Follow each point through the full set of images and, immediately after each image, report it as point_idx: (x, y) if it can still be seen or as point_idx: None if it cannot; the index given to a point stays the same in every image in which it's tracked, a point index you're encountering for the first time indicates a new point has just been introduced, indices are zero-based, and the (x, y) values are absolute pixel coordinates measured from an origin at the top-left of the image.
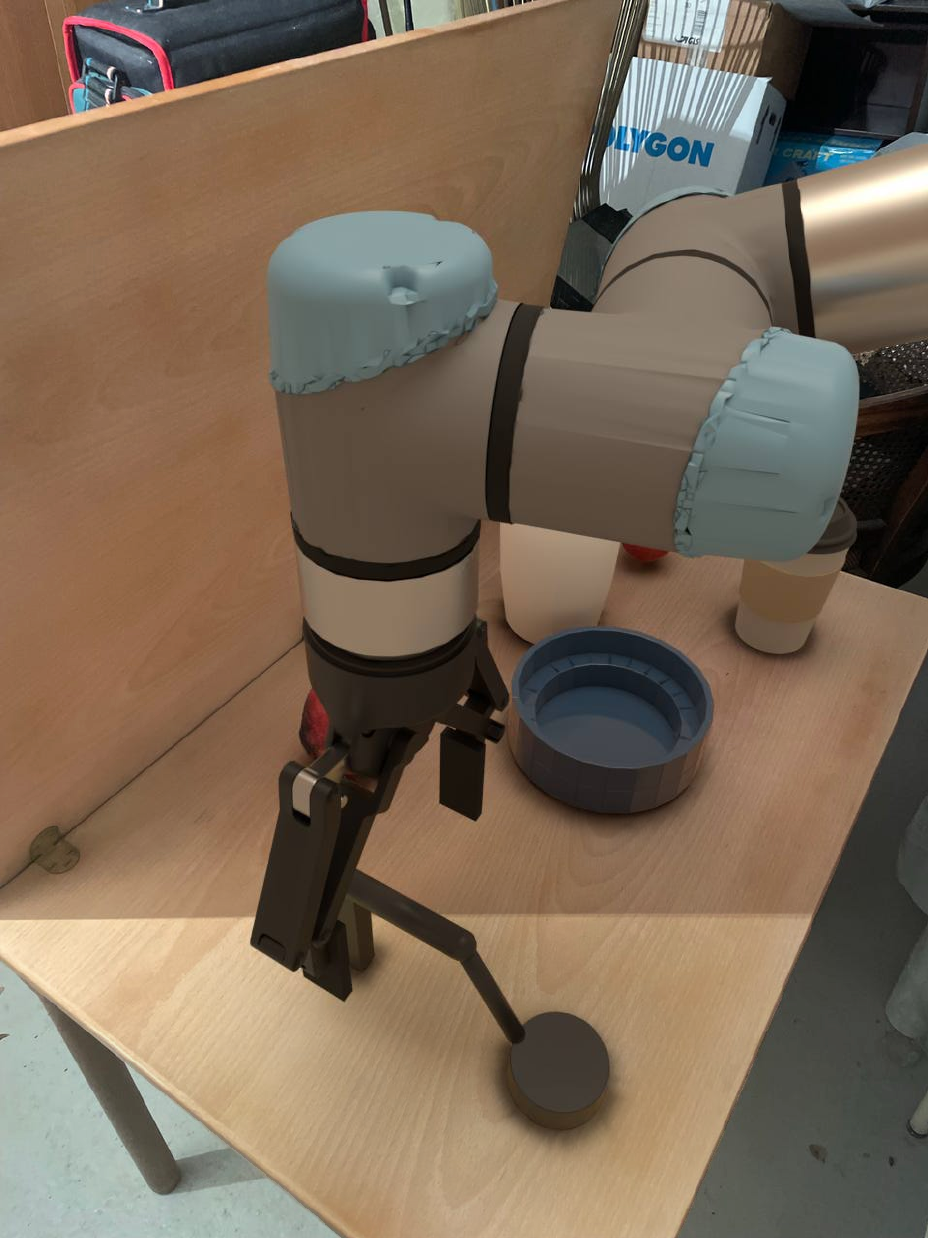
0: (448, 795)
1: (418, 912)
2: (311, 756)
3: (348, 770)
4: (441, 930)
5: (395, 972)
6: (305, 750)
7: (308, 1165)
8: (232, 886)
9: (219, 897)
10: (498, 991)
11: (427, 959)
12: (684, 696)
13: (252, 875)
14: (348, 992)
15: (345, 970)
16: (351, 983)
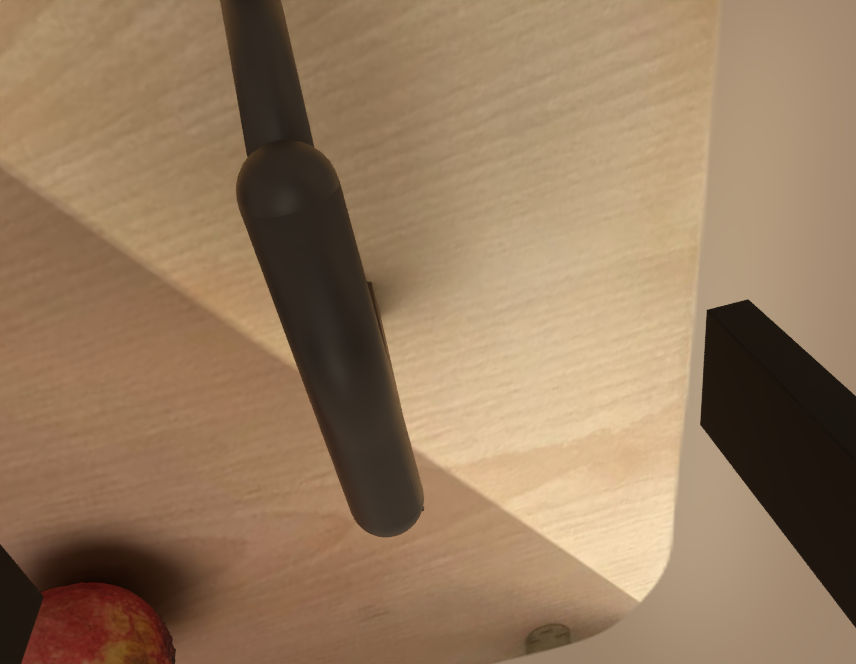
0: (2, 636)
1: (334, 356)
2: (172, 648)
3: (132, 609)
4: (323, 272)
5: None
6: (174, 660)
7: (680, 82)
8: None
9: (445, 509)
10: (241, 10)
11: None
12: None
13: None
14: (739, 317)
15: (830, 402)
16: (732, 335)
